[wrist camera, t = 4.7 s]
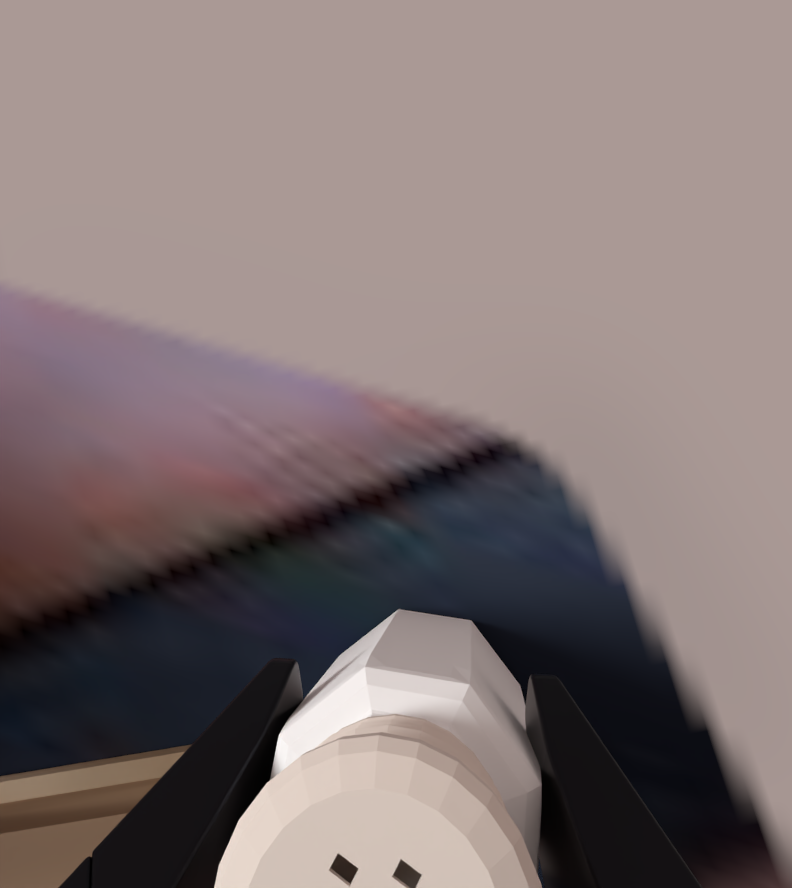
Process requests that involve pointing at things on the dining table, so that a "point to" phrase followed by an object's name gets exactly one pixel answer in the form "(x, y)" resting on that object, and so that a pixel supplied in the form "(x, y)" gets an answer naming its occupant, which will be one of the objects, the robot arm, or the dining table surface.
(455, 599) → the dining table surface
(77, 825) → the socket holder
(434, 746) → the pepper shaker
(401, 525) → the dining table surface
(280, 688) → the robot arm
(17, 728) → the dining table surface
